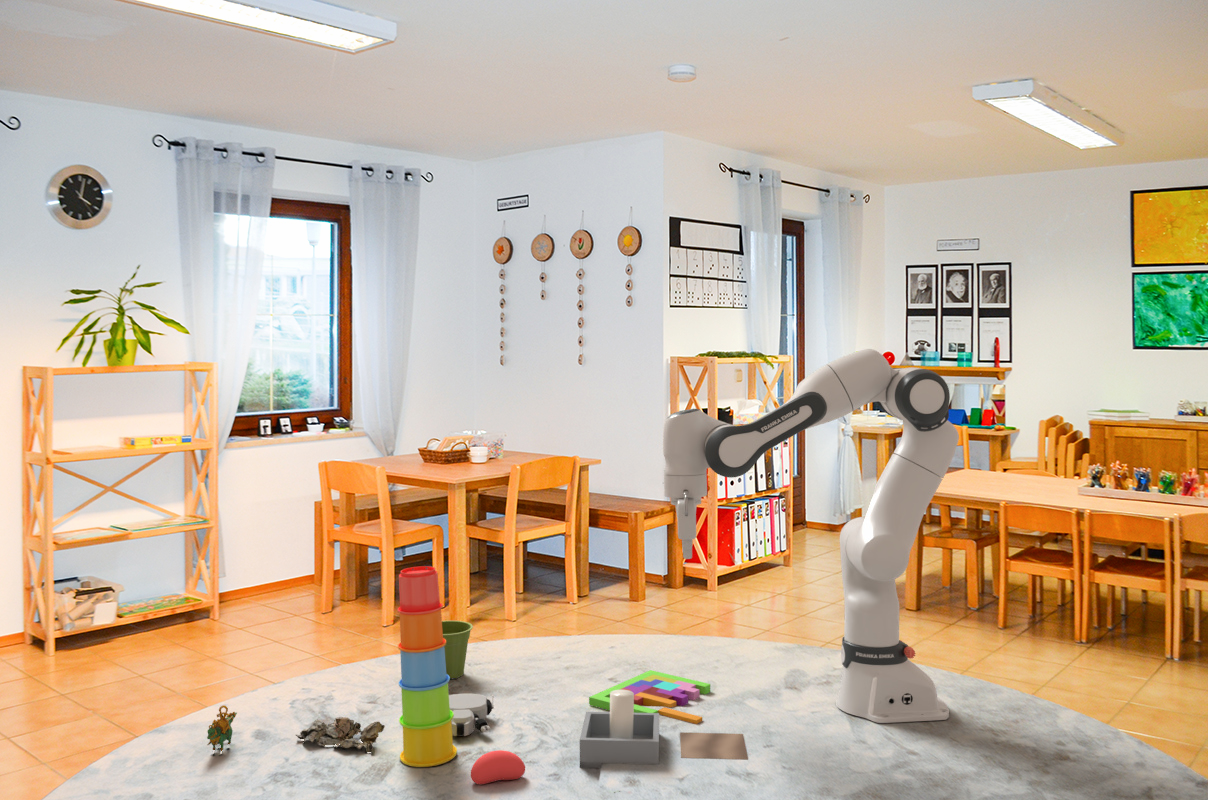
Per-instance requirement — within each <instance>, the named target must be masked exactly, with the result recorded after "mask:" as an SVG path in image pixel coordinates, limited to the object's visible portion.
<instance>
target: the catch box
mask: <svg viewBox="0 0 1208 800" xmlns="http://www.w3.org/2000/svg"><path fill="white" fill-rule="evenodd" d="M584 714H585V715H584V719H583V722H582V728H581V733H580V735H579V736H580V737H579V768H586V769H588V768H589V769H590V768H591V769H601V768H602V767H603V763H605V764H636V765H637V764H638V765H640V764H642V765H659V762H660V761H659V758H660V714H659V713H634V721H633V739H620V738H609V732H610V711H585V713H584Z"/></svg>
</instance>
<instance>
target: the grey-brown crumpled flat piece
mask: <svg viewBox="0 0 1208 800" xmlns="http://www.w3.org/2000/svg"><path fill="white" fill-rule="evenodd" d="M361 727H362V725H361V723H359V722H357V721H355V720H354V719H351V718H349V717H346V716H345V717H344V716H338V717H335V719H334V720H333V722H331V723H328V724H327V723H326V722H324V721H323V720H320V719H318V718H317V719H315V720H314V721H313V722H312V723H311V725H310V726H309V727H308V728H304V729H303V730H301V731H300V733H299V734H297V733H296V734H295V736H296V737H297V739H304V741H303V742H305V743H306V741H307V740H308V741H311V743H313V742H314V741H315V740H316V744H317V745H318V746H322V747H324V746H325V745H335V744H336V745H337V746H335V747H336V748H338V747H339V748H342V749H343V748H344V749H351V748H353V747H354V748H357V750H360V749H362V747H363V746H364V748H365V753H366V752H371V753H370V755H372V753H373V744H376V743H377V739H378V737H379V733H383V731H384V730H385V727H386V726H385V725H384V724H382V723H381V722H380V721H374V722H371V723H370V724H368V725H367V726H365V727H364V728H363V730H362V729H361ZM358 734H360V737H359V738H358V739H359V740H360V739H361V741H362V742H363V743H361V742H360V741H358V740H357V739H355V738H354V736H356V735H358ZM303 742H302V743H303ZM339 744H340V745H339Z"/></svg>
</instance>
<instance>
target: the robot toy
mask: <svg viewBox="0 0 1208 800" xmlns="http://www.w3.org/2000/svg"><path fill="white" fill-rule="evenodd" d="M491 696H492V697H491V698H492V699H491V700H492V701H491V700H490V699H488V698H487V696H486V695H483V694H481V693H480V694H479V693H454V694H449V706H450V710H451V711H452V712H453V713H454V717H453V719H452V720H451V722H452V737H457V736H458V737H459V736H460V737H461V736H462V737H463V735H464V737H466V736H470V734H472V733H473V732H474V731H475V728H476V730H478V731H479V732H480V733H481V732H482V733H486V732H489V731H490V730H491V727H490V726H489V723H488V722H487V721H486V720H485V719H486V718H487V716H489V715H490V714H491V712H492V711H493V710H494V709H495V708H494V706H495V705H494V697H495V696H494V694H492V695H491Z"/></svg>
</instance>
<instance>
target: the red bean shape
mask: <svg viewBox="0 0 1208 800" xmlns="http://www.w3.org/2000/svg"><path fill="white" fill-rule="evenodd" d="M525 771H526V765H525V763H524V761H523V760H522V758H521V757H520V756H519V755H517V754H516V753H514V752H511V751H510V750H509V751H508V750H504V749H503V750H501V749H500V750H492V751H489V752H487V753H484V754H482V755H481V756H480V757H478V758H477V759H476V760H475V762H474V763H473V765H472V766H471V770H470V779H471V781H472V782H473V783H474V784H477V785H485V784H490V783H493V782H496V781H506V780H507V781H509V780H511V781H512V780H517V779H520V778H522V777H523V776H524V774H525Z"/></svg>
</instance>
